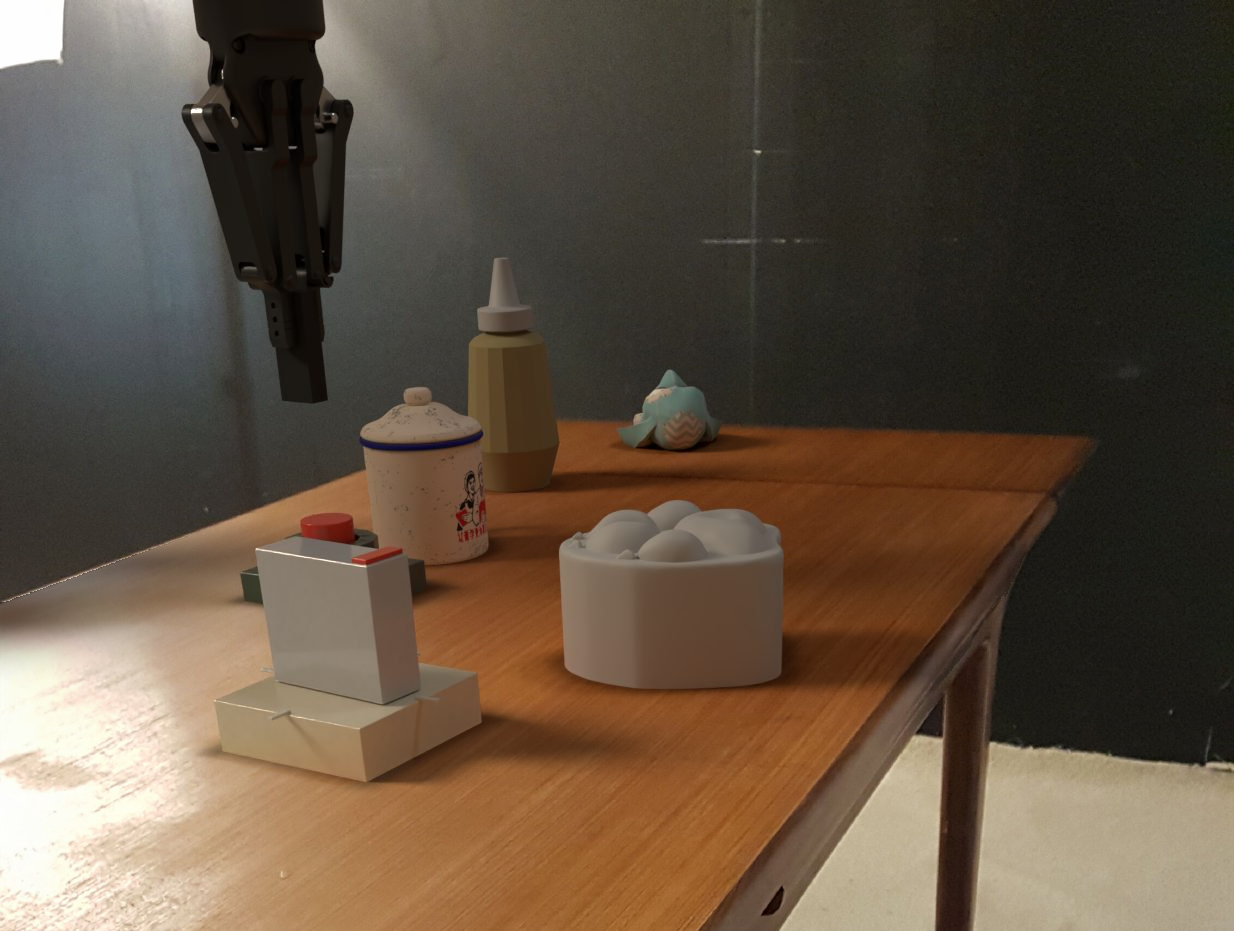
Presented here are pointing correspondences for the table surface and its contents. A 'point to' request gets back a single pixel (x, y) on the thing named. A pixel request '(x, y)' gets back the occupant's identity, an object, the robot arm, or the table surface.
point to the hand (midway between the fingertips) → (304, 400)
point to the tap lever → (340, 618)
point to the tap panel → (347, 723)
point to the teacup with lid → (426, 480)
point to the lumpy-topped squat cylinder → (674, 599)
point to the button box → (362, 539)
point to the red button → (329, 527)
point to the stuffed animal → (672, 418)
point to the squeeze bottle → (511, 392)
